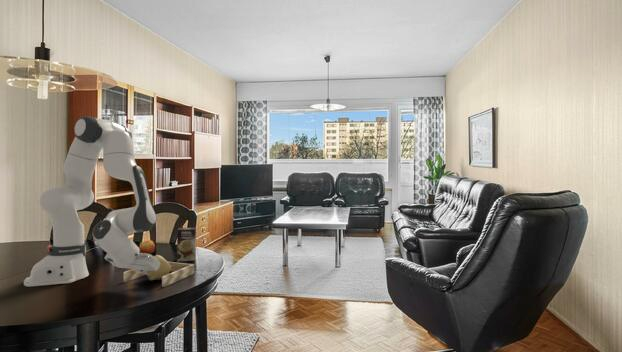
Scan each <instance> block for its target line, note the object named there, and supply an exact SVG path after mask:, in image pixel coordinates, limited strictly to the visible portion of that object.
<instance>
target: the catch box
mask: <svg viewBox="0 0 622 352" xmlns="http://www.w3.org/2000/svg"><path fill="white" fill-rule="evenodd" d="M167 262H168V263H169V264H170V266H171V269H170V272H171V273H170V272H169V274H168V275H165V276H163V277H162V279H161V288H165V287H167V286H170V285H172V284H174V283H176V282H178V281H181V280H183V279H186V278H187V277H189V276H192V275H194V274H195V273H196V271H195V269H196V267H195V266H196V265H195V264H194V263H185V262H177V261H176V262H175V261H174V262H173V261H167ZM145 275H146V274H145V273H140V272H139V271H137V270H135V269H129V270H126V271H123V283H127V282H130V281H132V280H136V279H137V278H141V277H144V276H145ZM146 276H147V275H146Z"/></svg>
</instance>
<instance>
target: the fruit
mask: <svg viewBox="0 0 622 352" xmlns="http://www.w3.org/2000/svg"><path fill="white" fill-rule="evenodd" d="M138 247H139V249H140V253H145V254H150V255H152V254H153V253H154V252H155V249H156V244H155V242H154V241H153V240H151V239H149V240H144V241H142V242H141V243H140V244H139V246H138Z"/></svg>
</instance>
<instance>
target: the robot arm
mask: <svg viewBox="0 0 622 352" xmlns="http://www.w3.org/2000/svg"><path fill="white" fill-rule="evenodd" d="M73 133H74V136H75V137H74V138H73V140H72V143H71V145H70V147H69V150H68V152H67V156H66V158H65V161H64V164H63V168H62V171H63V173H64V175H65V184H64V186H56V187H53V188H49V189H48V190H45V191H44V192H42V193H41V196H39V197H40V198H39V205H40V207H41V209H42V210H43V211H44V212H45V213H46V214H47V215H48V217H49V220H50V222H51V223H50V224H51V227H52V235H53V236H52V237H53V239H52V240H53V241H52V242H53V243H52V244H51V245H47V246H46V250H47V253H46V254H47V255H46V256H44V258H42V259H41V260H40V261H38V262H36V263H35V264H34V265H33V267H32V268H31V271H30V274H29V275H30V276H28V277H26V278H25V279H24V280H23V286H25V287H38V286H39V287H40V286H50V285H59V284H71V283H73V282H76V281H79V280H81V279H85V278H86V277H88V276H89V275H90V273H89V270H88V266H87V262H86V254H87V245H86V242H85V224H84V223H83V222H81V220H80V217H79V215H78V211H80V210H81V211H82V210H84V209H86V208H88V207H89V206H91V205H92V204H93V202H94V200H95V194H94V192H93V189H92V188H93V187H92V186H93V185H92V184H93V183H92V182H93V177H94V173H95V169H96V166H97V164H98V161H99V157H100V154H101V151H102V158H103V159H102V162H103V170H104V171H105V172H106V174H107V175H109V176H110V177H112V178H114V179H117V180H122V181H126V182H129V183H130V185H131V186H132V189H133V193H134V194H133V195H134V199H135V202H136V204H135V206H132V207H128V208H121V209H116V210H112V211H110V212H108V213H107V214H106V216H105V217H104V219H101V220H100V221H99V222H97V223H96V224H95V226H94V227H93V229H92V237H93V240H94V241H95V242H96V244H97V245H98V247H100V248H101V249H102V250H103V251H104V252H106V253H105V254H106V255H105V256H104V259H105V261H107V262H109V263H110V264H111V265H113V266H114V267H116V268H119V269H120V268H121V269H129V270H132V269H135V270H137V271H139V272H140V273H145V274H147V273H148V271H157V270H158V268H159V267H160V264H161V263H160V262H159V261H158V260H157V259H156V258H155V257H154V256H155V255H152V254H145V253H141V251H140V249H139V246H138V245H137V244H136V243H135V242H134V241H133V240H132V239H131V238H130V237H129V235H130V234H133V233H134V234H135V233H147V232H150V231H151V230H152V229H153V228H154V227H155V224H156V223H157V214H156V211H155V209H154V207H153V203H152V199H151V195H150V191H149V186H148V183H147V182H148V181H147V178H146V176H145V172H144V170H143V169H142V167H141V166H140V165H139V166H138V165H137V162H136V159H135V149H134V143H133V140H132V139H133V135H132V131H131V130H130V128H129V127H127V126H125V125H123V124H118V123H117V122H115V121H112V120H108V119H102V118H99V117H98V118H97V117H94V116H89V115H86V116H85V115H84V116H81V117H79V118H78V119H77V120H76V122H75V123H74V126H73Z"/></svg>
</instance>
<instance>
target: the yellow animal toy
mask: <svg viewBox="0 0 622 352" xmlns="http://www.w3.org/2000/svg"><path fill="white" fill-rule="evenodd" d="M153 256H154V257H155V258H156V259H157V260H158V261H159V262H160V263H161V264H160V267H159V268H158V270H157V271H148V273H147V274H146V277H148V279H149V281H154V280H162V277H163V276H165V275H168V274H170V272H171V271H170V269H171V266H170V264H169V263H168V262H169V261H168V260H166V259H165V258H164V257H163V256H162V255H159V254H156V255H153Z"/></svg>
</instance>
